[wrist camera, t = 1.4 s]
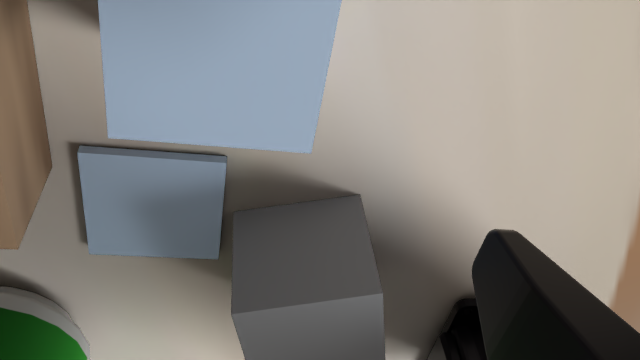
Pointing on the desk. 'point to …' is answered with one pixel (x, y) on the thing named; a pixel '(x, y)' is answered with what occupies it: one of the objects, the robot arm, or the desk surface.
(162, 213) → the swatch
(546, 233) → the desk surface
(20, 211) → the walnut plinth
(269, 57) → the blue cube
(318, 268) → the charcoal cube
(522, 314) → the robot arm
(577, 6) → the desk surface
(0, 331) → the soda can
